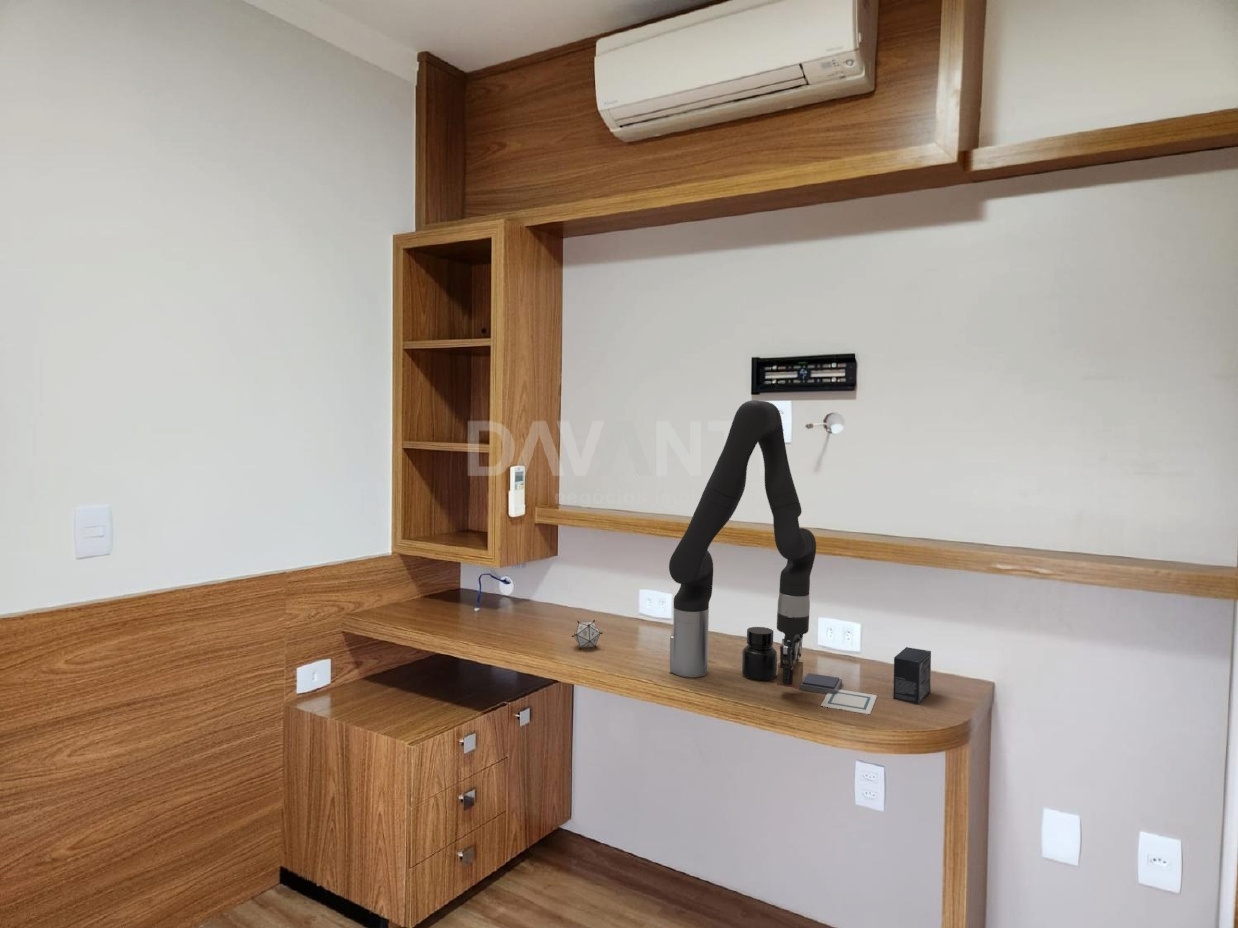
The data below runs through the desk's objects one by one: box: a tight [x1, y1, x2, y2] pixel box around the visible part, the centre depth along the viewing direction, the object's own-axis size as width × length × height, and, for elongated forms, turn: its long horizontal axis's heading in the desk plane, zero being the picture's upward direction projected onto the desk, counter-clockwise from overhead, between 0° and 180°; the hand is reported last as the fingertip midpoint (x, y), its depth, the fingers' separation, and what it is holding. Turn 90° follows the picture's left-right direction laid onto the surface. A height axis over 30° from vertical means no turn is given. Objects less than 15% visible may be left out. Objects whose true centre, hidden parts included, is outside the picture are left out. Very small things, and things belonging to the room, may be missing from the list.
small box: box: [892, 646, 932, 705], centre depth 183 cm, size 11×6×10 cm, turn 144°
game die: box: [571, 619, 604, 651], centre depth 218 cm, size 9×8×10 cm
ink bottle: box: [741, 626, 778, 681], centre depth 196 cm, size 10×9×12 cm
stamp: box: [776, 655, 804, 690], centre depth 181 cm, size 5×5×7 cm
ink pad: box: [798, 672, 843, 695], centre depth 188 cm, size 9×9×2 cm
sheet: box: [820, 688, 878, 716], centre depth 179 cm, size 11×13×1 cm
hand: (789, 680), depth 182 cm, fingers closed on stamp, 5 cm apart
